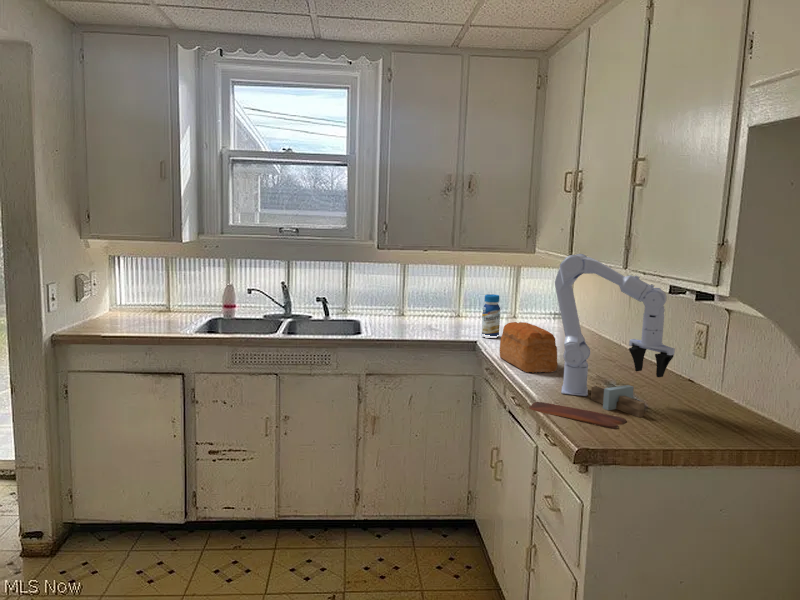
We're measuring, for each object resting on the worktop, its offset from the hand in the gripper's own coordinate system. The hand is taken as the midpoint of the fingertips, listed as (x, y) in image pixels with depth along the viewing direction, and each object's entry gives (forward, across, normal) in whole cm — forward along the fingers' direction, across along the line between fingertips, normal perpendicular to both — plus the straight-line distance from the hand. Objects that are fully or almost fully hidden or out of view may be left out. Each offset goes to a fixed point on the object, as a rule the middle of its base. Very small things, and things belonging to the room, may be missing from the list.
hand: (648, 373), depth 176 cm
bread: (+10, +54, +1) cm, 55 cm away
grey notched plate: (+9, +1, +11) cm, 14 cm away
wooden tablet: (+10, +2, +27) cm, 29 cm away
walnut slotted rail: (+9, +1, +11) cm, 15 cm away
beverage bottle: (+10, +102, -17) cm, 104 cm away
